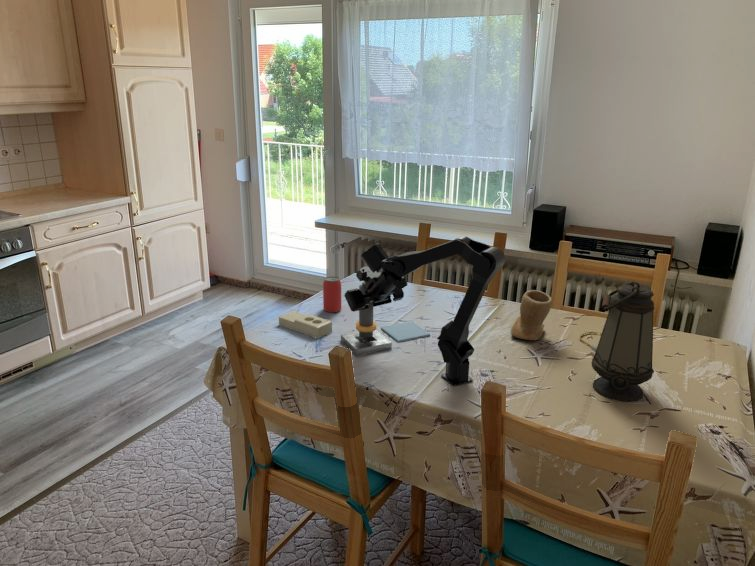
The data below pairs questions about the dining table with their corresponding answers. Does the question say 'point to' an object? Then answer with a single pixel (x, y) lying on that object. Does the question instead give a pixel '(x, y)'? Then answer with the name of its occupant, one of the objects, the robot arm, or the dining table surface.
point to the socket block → (360, 348)
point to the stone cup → (531, 315)
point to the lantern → (625, 344)
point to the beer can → (332, 294)
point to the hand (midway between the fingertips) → (363, 307)
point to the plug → (366, 318)
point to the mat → (405, 331)
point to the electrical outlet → (306, 324)
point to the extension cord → (589, 344)
